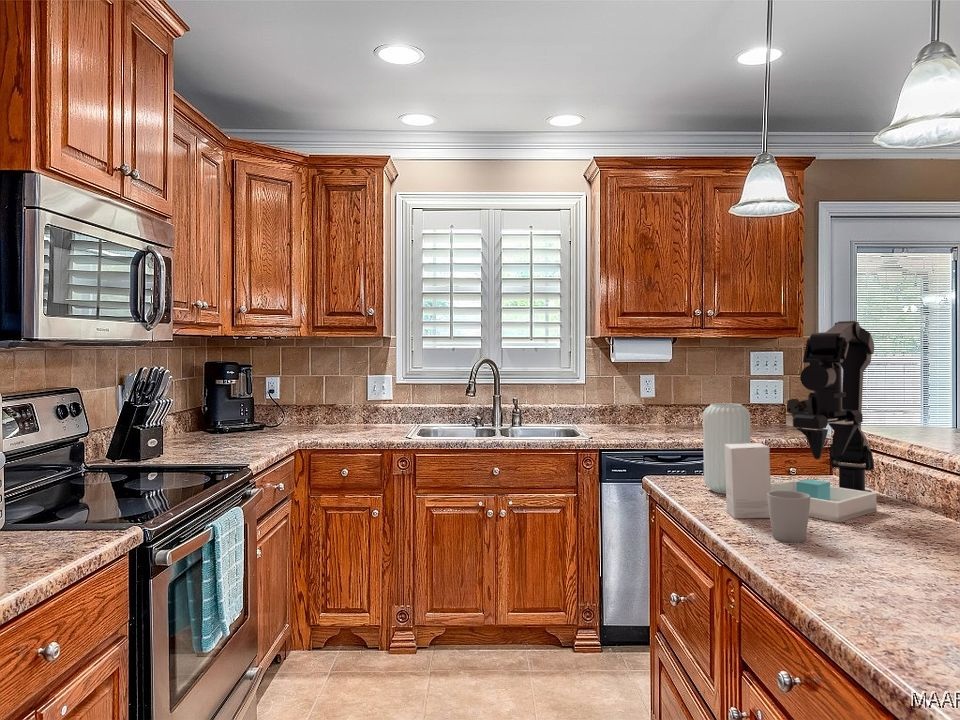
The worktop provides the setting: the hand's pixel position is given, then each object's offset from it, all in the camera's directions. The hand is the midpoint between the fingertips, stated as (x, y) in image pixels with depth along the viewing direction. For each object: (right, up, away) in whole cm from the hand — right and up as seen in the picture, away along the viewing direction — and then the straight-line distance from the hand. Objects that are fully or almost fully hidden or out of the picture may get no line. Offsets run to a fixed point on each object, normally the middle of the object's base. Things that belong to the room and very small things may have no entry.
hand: (828, 456), depth 155 cm
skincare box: (-20, -12, -5) cm, 24 cm away
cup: (-19, -13, -23) cm, 32 cm away
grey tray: (-3, -12, 0) cm, 12 cm away
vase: (-15, -12, +21) cm, 29 cm away
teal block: (-3, -11, 0) cm, 11 cm away
